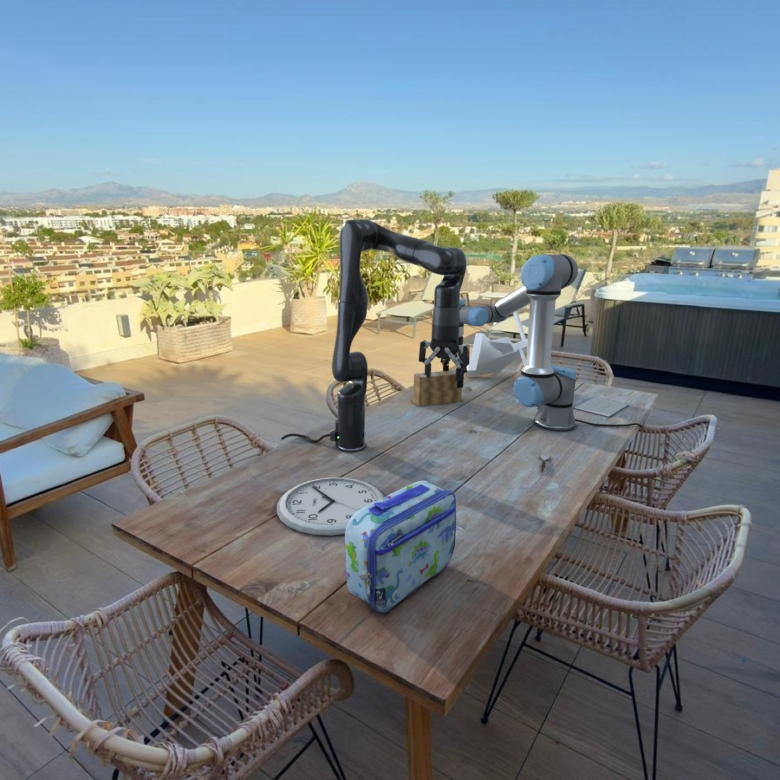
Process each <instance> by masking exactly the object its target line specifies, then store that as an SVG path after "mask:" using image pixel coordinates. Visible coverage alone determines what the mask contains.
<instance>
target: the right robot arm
mask: <svg viewBox="0 0 780 780" xmlns="http://www.w3.org/2000/svg"><path fill="white" fill-rule="evenodd" d="M578 274H579V267H578V263H577V262H576V260H575V259H574V258H573V257H572V256H570V255H569V254H563V253H561V254H559V253H557V254H538V255H534V256H531V257H530V258H529V259H527V260H526V261H525V262H524V264H523V266H522V268H521V271H520V282H521V283H522V285H521V286H520V287H518V288H517V289H515V290H513V291H511V292H510V293H508V294H506V295H505V296H503V297H501V298H500V299H498V300H496V301H495V302H493V303H491V304H484V305H475V306H474V305H473V306H472V305H466V300H465V299H463V298H460V304H459V311H460V323H459V338H458V342H459V345H464V333H465V331H464V330H465V325H469V326H473V327H483V326H485V325H486V324H492V323H493V324H494V323H501V322H504V321H506V320H507V319H508V318H509V316H510V315H513V313H514V312H516V311H517V312H518V311H520V310H522V309H523V308H525V307H526V306H528V305H529V314H528V328H527V329H528V330H527V338H528V342H527V353H526V355H525V356H526V365H525V366H524V365H523V367H522V368H521V370H520V377H518V378H517V379H516V380H515V381H514V383H513V394H514V397H515V399H516V400H517V401H518V403H519V404H521V405H522V406H524V407H526V408H536V410H537V411H536V413H535V416H534V424H535V425H536V426H537V427H539V428H542V429H544V430H549V431H556V432H567V431H572V430H574V429H575V428H576V422H577V423H582V424H586V425H588V426H589V425H590V426H595V427H612V428H613V427H615V428H616V427H632V426H638V427H639V428H642V429H643V428H644V426H643V424H642V425H641V424H640V423H637V422H633V423H624V424H623V423H621V424H620V423H619V424H610V423H609V424H605V423H594V422H589V421H586V420H582V419H576V418H575V417H576V416H575V413H574V407H573V405H574V398H575V391H576V383H577V372H576V371H575V369H573V368H571V367H570V368H569V367H566V366H561V365H551V362H552V349H553V336H554V325H555V315H556V314H555V313H556V300H557V299H558V298H559V297H560V296H561V294H562V290H564V289H565V288H567V287H569V286H571V285H572V284H573V283H574V282H575V281H576V280H577V277H578ZM456 353H457V354H458V356H459V358H460V360H461V362H463V353H462V352H461V350H460V349H459V350H458V351H457V352H456ZM455 356H456V355H455ZM451 361H452V360H451V359H444V358H440V360H439V362H440V364H441V365H442V371H450V362H451ZM464 369H465V370H464ZM466 372H467V367H463V368H462V377H461V379H459V381H457V388H462V389H463V388H464V380H465V379H464V378H465V373H466Z"/></svg>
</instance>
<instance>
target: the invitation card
mask: <svg viewBox="0 0 780 780" xmlns="http://www.w3.org/2000/svg"><path fill="white" fill-rule="evenodd" d="M628 406H629V404H627V403H623V402H618V401H614V400H609V399H605V398H601V397H596V396H593V397H592V398H590V399H588V400H586V401H584V402H582V403H580V404H578V405H575V406H574V407H573V409H575V410H581V411H584V412H587V413H593V414H596V415H600V416H604V417H608V418H609V417H611V416H613V415H614V414H616V413H617V412H619V411H621V410H623V409H624V408H626V407H628Z"/></svg>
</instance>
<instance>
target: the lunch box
mask: <svg viewBox="0 0 780 780" xmlns="http://www.w3.org/2000/svg"><path fill="white" fill-rule="evenodd" d="M456 531H457V499H456V495H455V493H454V492H453V490H450V489H442V488H440V487H439V486H437V485H435V484H433V483H432V482H430V481H428V480H418V481H416V482H413V483H410V484H409V485H406V486H405V487H402V488H400V489H398V490H396V491H394V492H392V493H390V494H388V495H385V497H384V498H382V499H380V500H378V501H376V502H374V503H372V504H370V505H368V506H366V507H364V508H362V509H360V510H358V511H357V512H355V513H354V514H353V515H352V517H351V518H350V520H349V522H348V524H347V527H346V531H345V534H344V552H345V577H346V578H345V580H346V586H347V589H348V592H349V593H350V594H352V595H354V596H356V597H357V598H359V599H361V600H363V602H365V603H367V604H368V605H370V607H371V608H372V609H373V610H375V611H376V612H378V613H380V614H382V613H383V614H385V613H387V612H389V611H391V609H393V608H394V607H395V606H396V605H397V604H400V602H401V601H402V600H404V599H406V597H409V596H410V595H411V594H412V593H414V592H415V591H416V590H417V589H418V588H420V587H421V586H422V585H423V584H424V583H425V582H427V581H428V580H430V579H432V578H433V577H434V576H436V575H437V574H439V573H441V572H442V571H443V570H445V568H446V567H447V566H448V564H449V563H450V561H451V560H452V557H453V554H454V551H455V548H456V547H455V546H456Z"/></svg>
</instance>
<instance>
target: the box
mask: <svg viewBox="0 0 780 780" xmlns="http://www.w3.org/2000/svg"><path fill="white" fill-rule="evenodd" d="M455 376H456V369H454V370H453V369H451V370H449V371H443V370H442V371H441V370H440V371H431V376H430V377H429V378H428V377H426V375H425V372H422V373H421V372H418V373H413V392H412V393H413V395H412V397H413V398H412V399H413V400H412V402H413V403H414V404H415V405H416V406H418V407H424V406H435V405H442V404H450V403H451V404H452V403H459V402H462V395H463V388H457V381H455Z"/></svg>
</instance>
